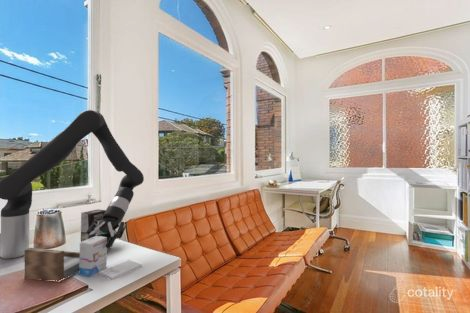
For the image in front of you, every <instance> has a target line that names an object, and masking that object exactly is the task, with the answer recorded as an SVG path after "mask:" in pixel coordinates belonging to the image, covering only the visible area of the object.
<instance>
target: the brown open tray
mask: <svg viewBox="0 0 470 313" xmlns="http://www.w3.org/2000/svg"><path fill="white" fill-rule="evenodd" d="M79 260H80V251H79V252H78V251H70V250H69V251H68V250H57V249H50V248H49V249H48V248H47V249H46V248H36V247H29V248H28V249H25V255H24V279H25V278H30V279H29V280H33V279H41V280H40V281H42V280H55V281H56V280H57V281H59V280H61V279H63V278H66V277H68V276H70V277H72V276H73V275H75V274H76V273H79ZM68 278H69V277H68ZM66 279H67V278H66Z"/></svg>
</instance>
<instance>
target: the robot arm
mask: <svg viewBox="0 0 470 313" xmlns="http://www.w3.org/2000/svg"><path fill="white" fill-rule="evenodd" d="M91 133H92V134H93V135H94V137H95V138H96V139H97V140H98V142H99V143H100V145H101V147H102V149H103V151H104V153H105V155H106V157H107V159H108V160H109V162H110V163H111V165H112V166H113V167H114V169H115V171H117V172H119V173H121V172H123V173H124V176H123V177H122V178H121V180H120V183H119V185H118V189H117V191H116V193H115V195H114V197H113V198H112V199H111V201H110V202H109V204H108V206H107V207H106V209H105V210H106V211H105V213H104V215H103V219H102V220H101V221H100V222H99V221H96V220H94V221H93V222H92V224H91V225H90V227H89V229H88V230H87V232H86V233H87V234H88V235H89V237H88V239H90V238H92V237H95V236H97V235H100V234H101V233H110V234H111V237H110V238H109V240H108V242H107V244H106V247H107V248H108V249H111V247H113V245H114V243H115V241H116V240H117V239H122V237H123V235H124V232H125V230H126V227H127V224H126V223H125V222H124V221H123V219H124V217H125V216H126V214H127V211H128V209H129V206H130V204H131V202H132V200H133V197H134V196H135V193H134V191H133V190H134V188H136V187H138V186H140V185H141V184H143V182H144V180H145V179H144V174H143V173H142V171H141V170H140V169H139V168H138V167H137V166H136V165H135V164H133V163H132V162H131V161H130V160H129V158H128V156H127V154H126V153H125V152H124V151H123V149H122V148H121V146H120V144H119V143H118V142H117V140H116V139H115V137H114V135H113V134H112V132H111V130H110V128H109V126H108V123H107V121H106V119H105V118H104V115H103V114H101V112H98V111H96V110H92V109H86V110H83V111H82V112H80V113H79V114H78V115H77V116H76V117H75V118H74V119H73V121H71V123H69V125H68V126H67V127H66V128H65V129H64V130H62V131H61V132H59V133H58V134H57V135H55V137H53V138H52V139H51V140H49V141H48V142H47V143H46V144H45V145H44V146H42V147H41V148H40V149H39V150H38V151H36V152H35V153H34V154H33V155H31V157H30V158H28V159H27V161H25V162H24V163H23V164H22V165H21V166H19V167H18V168H17V169H16V170H15V171H13V172H12V173H10V174H9V175H7V176H5V177H4V178H2V179H1V180H0V199H1V200H5V201H6V200H7V201H6V204H5V205H4V206H3V207H2V208H1V210H0V258H1V259H8V260H9V259H14V258H20V257H23V256H25V249H28V248H30V210H31V206H32V202H33V184H32V182H33V181H34V180H36V179H37V178H38V177H41V176H42V175H44V174H47V173H48V172H49V171H51V170H53V169H55V168H57V167H58V166H59V165H60V164H61V163H62V162H63V161H65V160H66V159H67V158H68V156H70V155H71V154H72V152H73V151H74V150H75V147H76V146H77V145H78V143H79V142H81V141H82V140H83V139H84V138H86V137H87V136H88V135H90V134H91ZM98 229H100V231H99V230H98ZM116 229H117V230H116ZM90 231H91V232H90ZM116 231H117V233H116ZM94 233H95V234H94Z"/></svg>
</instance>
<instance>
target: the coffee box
mask: <svg viewBox="0 0 470 313" xmlns="http://www.w3.org/2000/svg"><path fill="white" fill-rule="evenodd" d="M105 211H106V209H98V208H97V209H93V210H88V211H84V212H80V214H81V215H80V243H81V242H82V241H85V240H87V239H88V237H89V235H88V234H87V233H86V232H87V230H88V229H89V227H90V225H91V224H92V222H93V221H94V220H96V221H99V222H100V221H101V220H102V219H103V215H104V213H105ZM98 230H99V231H100V229H98ZM90 232H91V231H90Z"/></svg>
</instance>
